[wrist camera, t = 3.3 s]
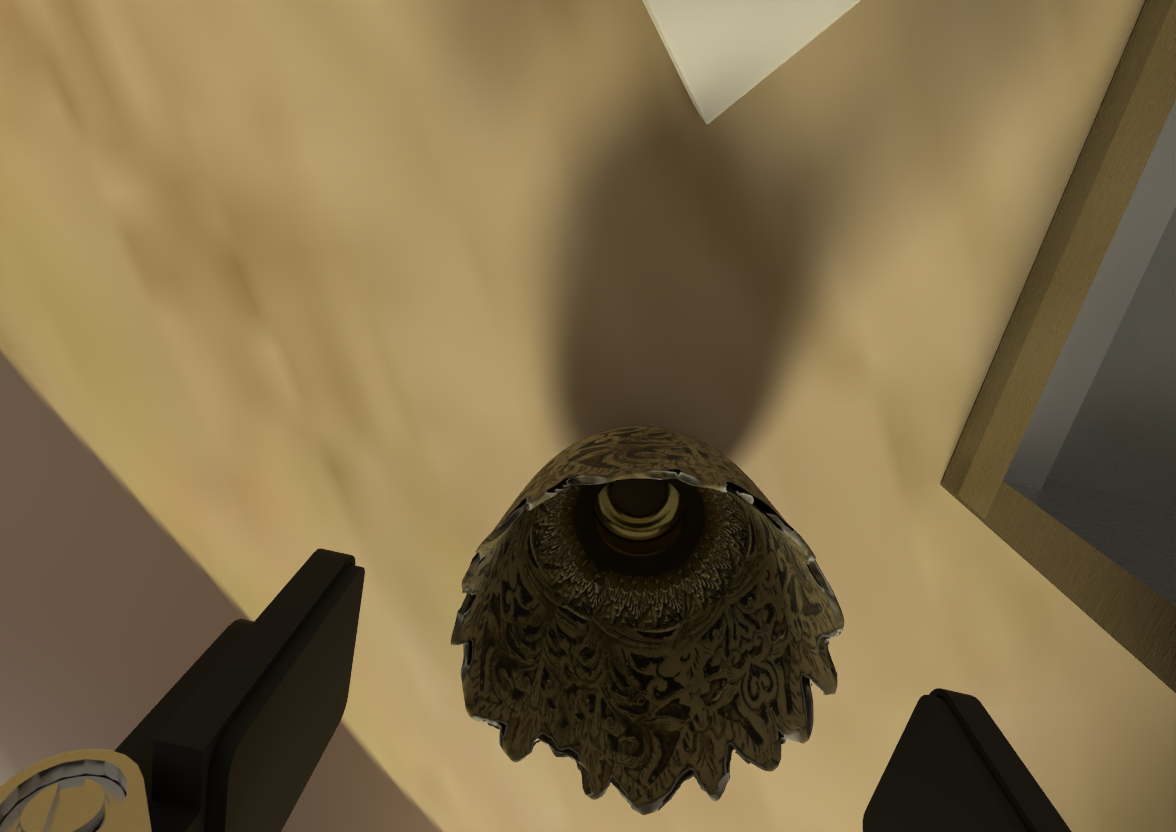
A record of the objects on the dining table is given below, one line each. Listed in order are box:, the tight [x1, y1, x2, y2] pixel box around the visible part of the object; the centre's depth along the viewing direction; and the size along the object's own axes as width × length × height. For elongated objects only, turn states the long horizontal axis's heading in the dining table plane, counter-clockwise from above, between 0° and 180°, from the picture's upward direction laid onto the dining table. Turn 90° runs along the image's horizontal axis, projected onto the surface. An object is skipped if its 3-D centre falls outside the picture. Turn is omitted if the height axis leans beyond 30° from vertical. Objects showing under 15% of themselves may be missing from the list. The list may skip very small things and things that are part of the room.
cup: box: [451, 426, 844, 815], centre depth 16 cm, size 8×7×8 cm
